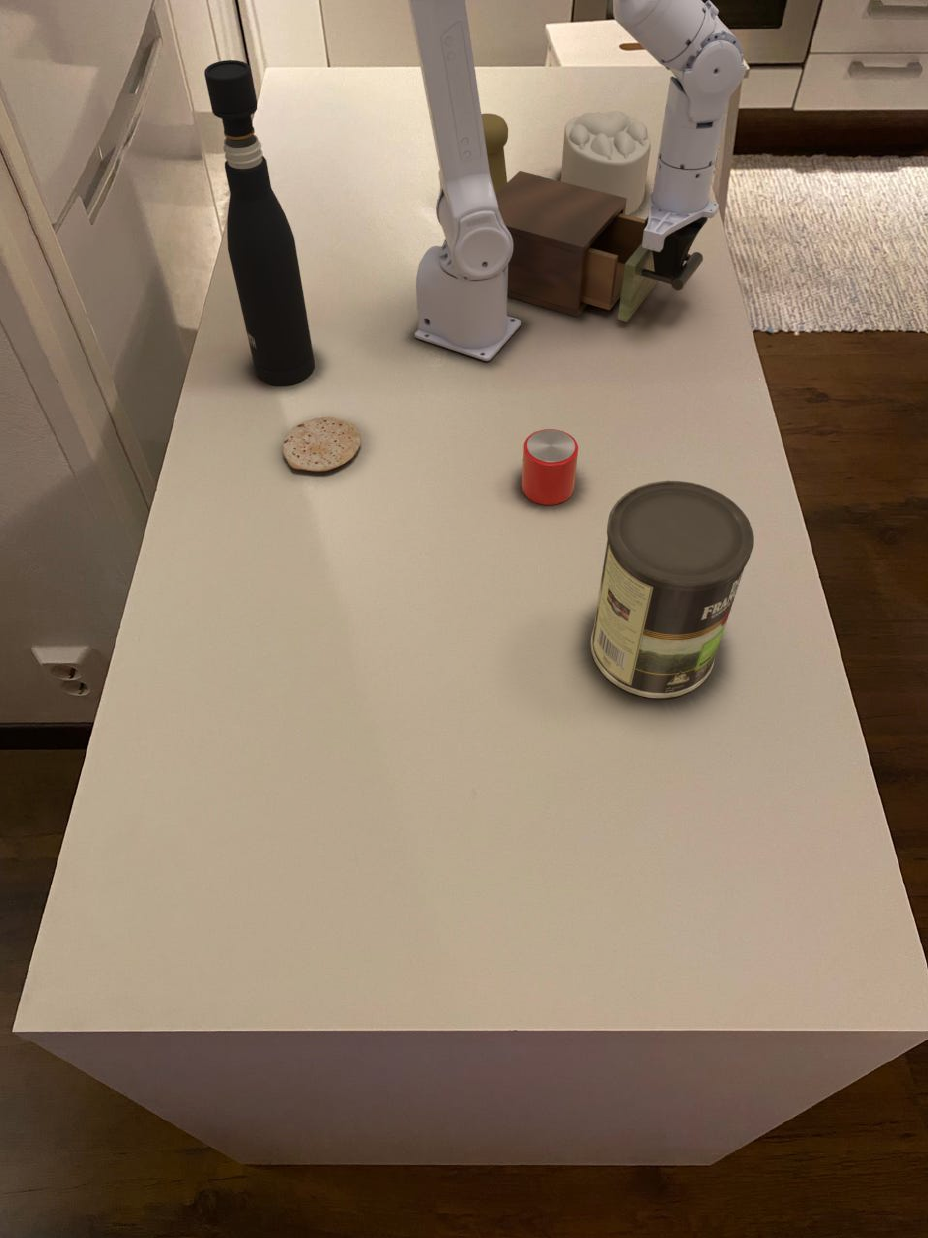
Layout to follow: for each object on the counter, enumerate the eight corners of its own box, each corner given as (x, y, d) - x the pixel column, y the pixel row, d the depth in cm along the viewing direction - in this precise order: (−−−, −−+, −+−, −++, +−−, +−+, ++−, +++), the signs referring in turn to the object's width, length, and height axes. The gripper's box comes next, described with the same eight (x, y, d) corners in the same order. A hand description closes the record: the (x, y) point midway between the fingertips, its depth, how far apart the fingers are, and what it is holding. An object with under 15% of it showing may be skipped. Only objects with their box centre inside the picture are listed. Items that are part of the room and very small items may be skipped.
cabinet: (618, 267, 113) (627, 198, 107) (577, 317, 107) (583, 247, 100) (517, 238, 118) (519, 170, 111) (472, 285, 111) (471, 215, 105)
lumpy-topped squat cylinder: (631, 166, 129) (639, 99, 122) (653, 216, 121) (664, 147, 114) (555, 171, 128) (559, 104, 121) (573, 221, 120) (579, 153, 113)
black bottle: (324, 355, 103) (278, 58, 80) (299, 391, 100) (243, 89, 76) (271, 344, 105) (211, 48, 81) (245, 379, 101) (173, 79, 78)
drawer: (702, 287, 109) (713, 231, 104) (668, 334, 104) (678, 278, 98) (565, 248, 115) (570, 194, 109) (526, 291, 109) (529, 236, 104)
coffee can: (734, 631, 79) (775, 511, 68) (684, 720, 74) (720, 606, 63) (623, 582, 83) (645, 461, 72) (567, 664, 77) (582, 546, 66)
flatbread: (310, 413, 97) (309, 406, 96) (375, 434, 95) (374, 426, 94) (267, 462, 93) (265, 454, 92) (333, 485, 91) (331, 477, 90)
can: (512, 493, 90) (513, 452, 86) (536, 462, 92) (538, 421, 88) (559, 512, 88) (563, 471, 84) (582, 479, 91) (587, 438, 87)
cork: (505, 220, 120) (507, 131, 112) (459, 215, 121) (457, 127, 113) (513, 196, 124) (516, 108, 116) (468, 192, 125) (467, 104, 116)
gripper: (699, 198, 89) (676, 323, 100) (750, 134, 97) (723, 256, 107) (630, 181, 91) (614, 305, 102) (684, 119, 99) (664, 241, 110)
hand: (666, 279), depth 105 cm, fingers closed, pressing on drawer
